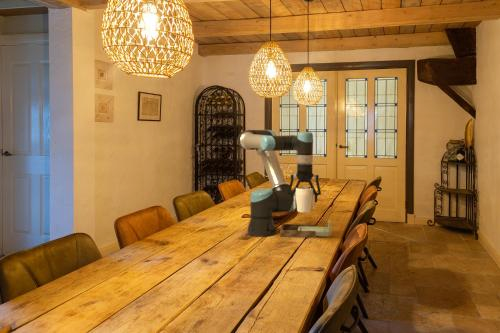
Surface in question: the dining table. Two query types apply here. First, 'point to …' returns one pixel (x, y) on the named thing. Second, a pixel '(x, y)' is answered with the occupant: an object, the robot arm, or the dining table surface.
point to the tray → (318, 230)
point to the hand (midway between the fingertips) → (304, 208)
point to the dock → (296, 231)
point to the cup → (304, 199)
